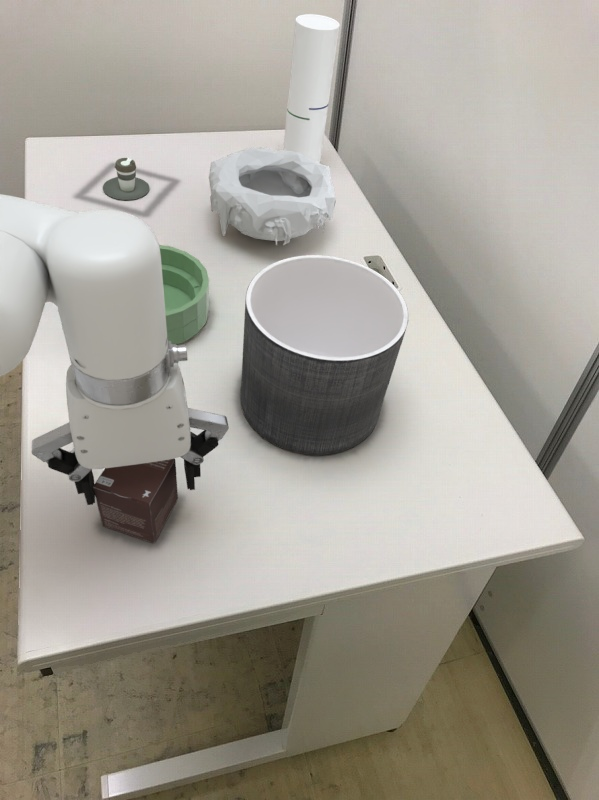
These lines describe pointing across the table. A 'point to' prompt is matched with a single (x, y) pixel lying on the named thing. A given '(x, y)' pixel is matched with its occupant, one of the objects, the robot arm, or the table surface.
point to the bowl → (271, 193)
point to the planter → (319, 352)
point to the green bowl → (184, 294)
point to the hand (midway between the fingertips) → (141, 485)
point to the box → (137, 497)
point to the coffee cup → (126, 182)
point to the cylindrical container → (310, 84)
